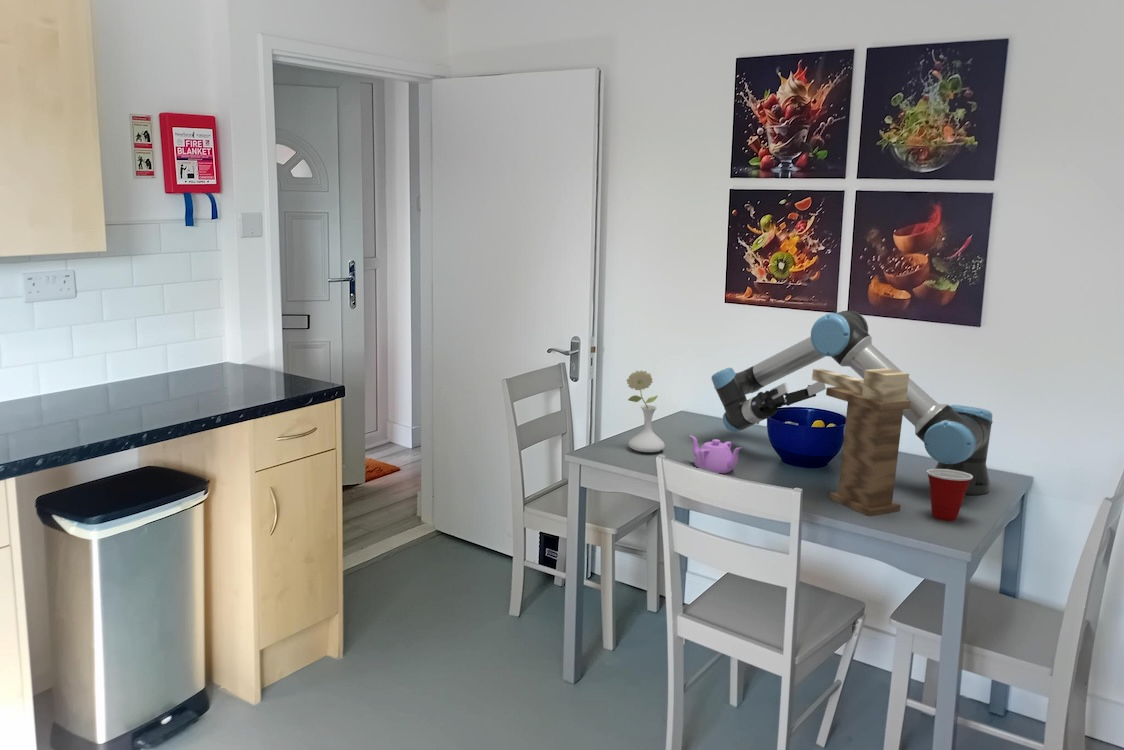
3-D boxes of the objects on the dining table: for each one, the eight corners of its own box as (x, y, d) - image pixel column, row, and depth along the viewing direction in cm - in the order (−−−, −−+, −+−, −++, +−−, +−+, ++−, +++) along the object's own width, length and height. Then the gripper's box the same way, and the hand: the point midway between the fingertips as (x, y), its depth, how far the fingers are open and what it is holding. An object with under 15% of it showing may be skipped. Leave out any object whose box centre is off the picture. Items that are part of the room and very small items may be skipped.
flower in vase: (667, 447, 276) (672, 369, 271) (661, 457, 265) (667, 376, 260) (626, 442, 279) (630, 365, 274) (619, 452, 268) (623, 372, 263)
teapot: (739, 476, 250) (742, 446, 248) (690, 474, 250) (693, 444, 249) (734, 464, 261) (736, 435, 260) (687, 461, 262) (689, 433, 260)
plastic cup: (954, 510, 229) (960, 466, 226) (975, 525, 218) (981, 479, 216) (913, 509, 228) (919, 465, 226) (932, 524, 218) (938, 478, 215)
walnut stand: (900, 510, 227) (913, 401, 221) (868, 516, 222) (881, 404, 216) (844, 487, 244) (856, 385, 238) (814, 491, 239) (825, 387, 233)
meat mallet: (906, 400, 221) (909, 373, 220) (882, 403, 218) (886, 375, 216) (827, 378, 246) (829, 353, 244) (804, 380, 242) (807, 355, 241)
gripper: (795, 416, 270) (842, 395, 252) (729, 423, 259) (773, 401, 241) (789, 393, 272) (835, 370, 254) (723, 398, 261) (766, 375, 243)
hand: (805, 385), depth 247 cm, fingers open, 13 cm apart
